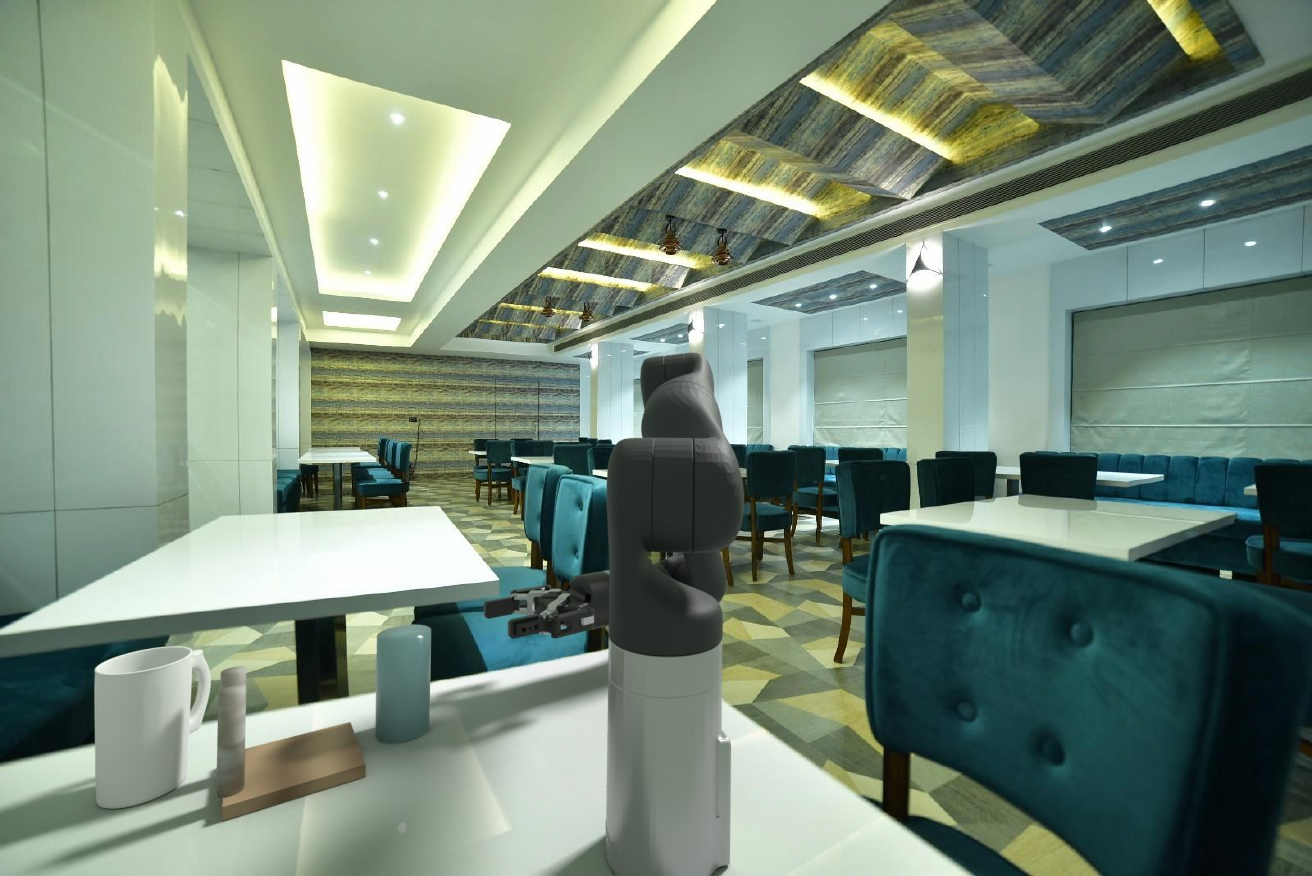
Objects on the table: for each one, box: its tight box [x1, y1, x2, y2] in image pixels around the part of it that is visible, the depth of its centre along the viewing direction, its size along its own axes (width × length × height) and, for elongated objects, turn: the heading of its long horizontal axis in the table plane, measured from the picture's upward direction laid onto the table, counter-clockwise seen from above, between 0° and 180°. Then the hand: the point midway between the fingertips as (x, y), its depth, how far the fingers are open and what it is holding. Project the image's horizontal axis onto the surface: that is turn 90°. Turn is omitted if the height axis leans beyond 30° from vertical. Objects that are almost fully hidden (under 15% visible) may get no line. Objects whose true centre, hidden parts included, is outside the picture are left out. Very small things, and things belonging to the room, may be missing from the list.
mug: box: [94, 645, 212, 810], centre depth 54 cm, size 10×7×12 cm, turn 174°
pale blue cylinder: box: [374, 624, 432, 745], centre depth 63 cm, size 6×6×11 cm
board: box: [215, 665, 367, 822], centre depth 55 cm, size 12×10×10 cm
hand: (496, 619), depth 69 cm, fingers open, 8 cm apart
